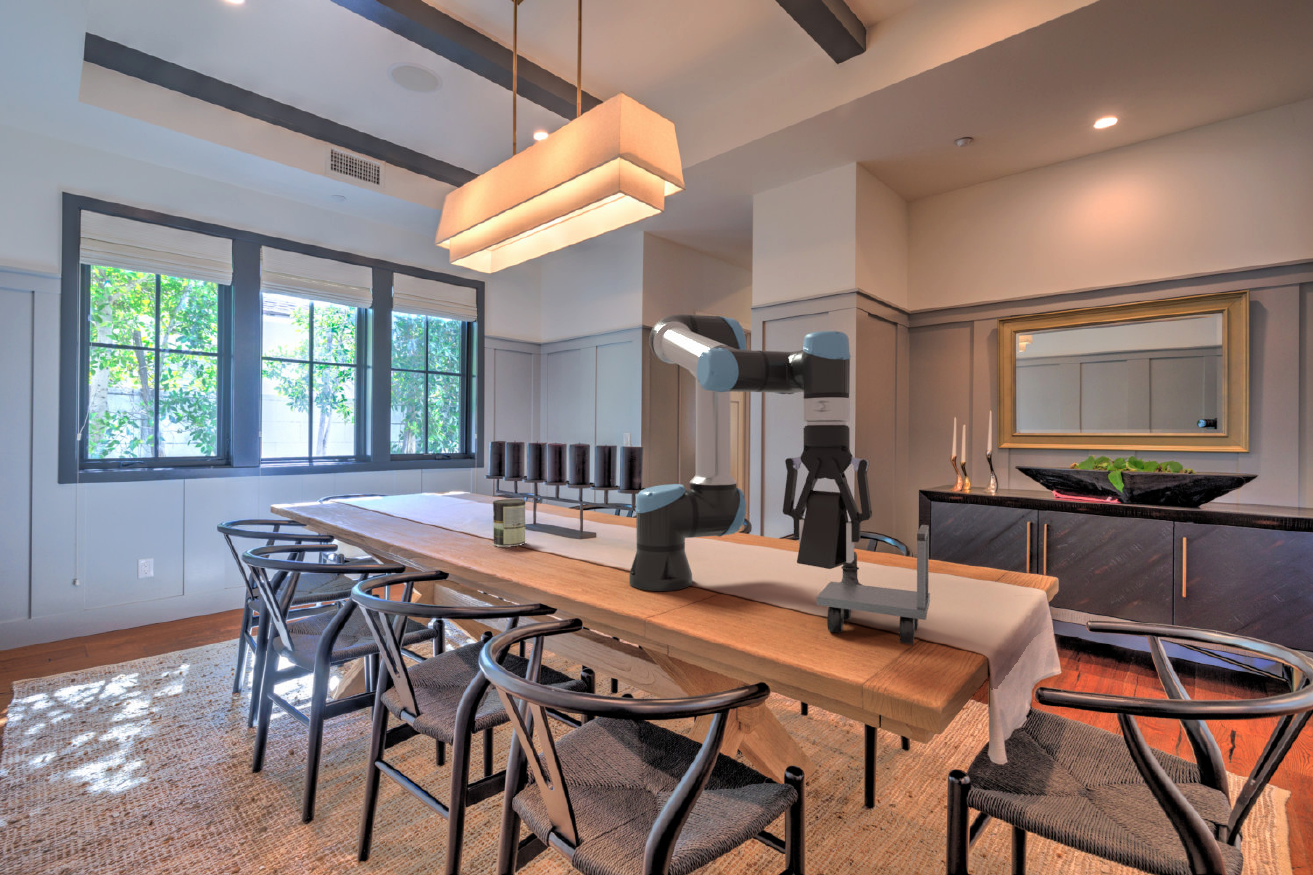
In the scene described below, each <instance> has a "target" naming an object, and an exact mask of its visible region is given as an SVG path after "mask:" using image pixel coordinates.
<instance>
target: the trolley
mask: <svg viewBox="0 0 1313 875" xmlns="http://www.w3.org/2000/svg"><path fill="white" fill-rule="evenodd" d="M929 530H930V527H929V524H921V525H920V527H919V529H918V531H917V533H916V591H915V590H906V589H897V588H892V587H891V588H890V587H882V586H871V585H865V584H864V585H863V584H862V585H857V584H848V583H839V581H830V582H829V583H827V585H826V586H825V587H824V588H823V589H822V590H821V591H820V592H819V594H817V596H816V606H822V607H828V609H827V623H826V624H827V630H828V632H832V633H836V634H837V633H838V634H842V633H843V628H844V624H845V621H850V619H851V616H852V611H859V612H867V613H872V614H881V615H889V616H896V617H899V618H900V619H899V633H898V634H899V642H900V644H901V643H902V644H907V645H908V644H909V645H914V643H915V634H916V633H915V632H916V631H918V629H919V628H918V627H919V626H918V625H919V620H924V621H926V620H927V616H928V612H929V607H930V603H931V594H930V593H931V592H929V587H930V586H929V573H930V572H929V567H930V564H929V563H930V562H929V561H930V560H929V555H930V554H929V552H930V551H929V550H930V549H929V546H930V544H929V541H930V538H929V536H930V534H929V532H930V531H929Z"/></svg>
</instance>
